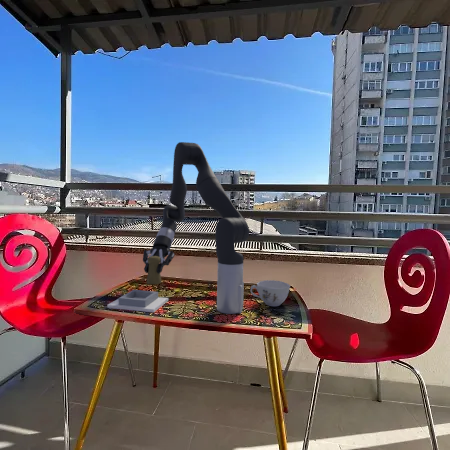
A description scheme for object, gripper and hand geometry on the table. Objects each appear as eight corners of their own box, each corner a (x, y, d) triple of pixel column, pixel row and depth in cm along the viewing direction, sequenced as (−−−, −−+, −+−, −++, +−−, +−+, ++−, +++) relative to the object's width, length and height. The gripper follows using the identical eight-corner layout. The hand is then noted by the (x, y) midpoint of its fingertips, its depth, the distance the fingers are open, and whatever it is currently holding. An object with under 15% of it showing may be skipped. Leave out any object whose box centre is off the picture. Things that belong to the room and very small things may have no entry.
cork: (157, 284, 112) (157, 257, 111) (143, 283, 113) (143, 257, 112) (163, 280, 118) (163, 255, 117) (150, 280, 119) (150, 254, 118)
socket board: (168, 300, 108) (168, 291, 108) (153, 312, 96) (153, 302, 96) (126, 296, 112) (126, 288, 112) (107, 307, 99) (107, 298, 99)
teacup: (288, 299, 112) (289, 280, 112) (290, 311, 100) (291, 289, 99) (251, 297, 115) (251, 278, 114) (248, 307, 102) (249, 286, 102)
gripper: (146, 234, 123) (132, 266, 112) (176, 234, 120) (165, 268, 109) (152, 244, 128) (139, 276, 117) (181, 245, 125) (171, 278, 114)
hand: (152, 272), depth 113 cm, fingers closed on cork, 4 cm apart
